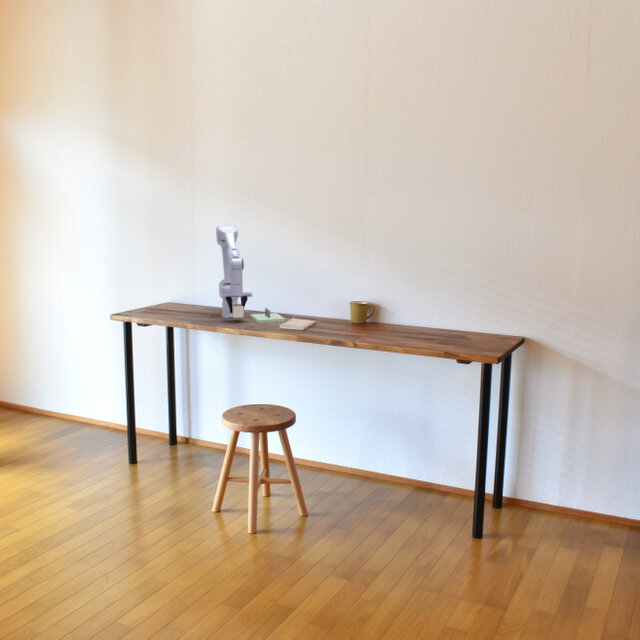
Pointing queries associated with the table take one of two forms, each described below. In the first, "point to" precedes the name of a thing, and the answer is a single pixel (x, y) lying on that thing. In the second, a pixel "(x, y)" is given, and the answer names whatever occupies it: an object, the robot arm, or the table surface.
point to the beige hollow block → (237, 310)
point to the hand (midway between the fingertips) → (236, 312)
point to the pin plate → (267, 317)
